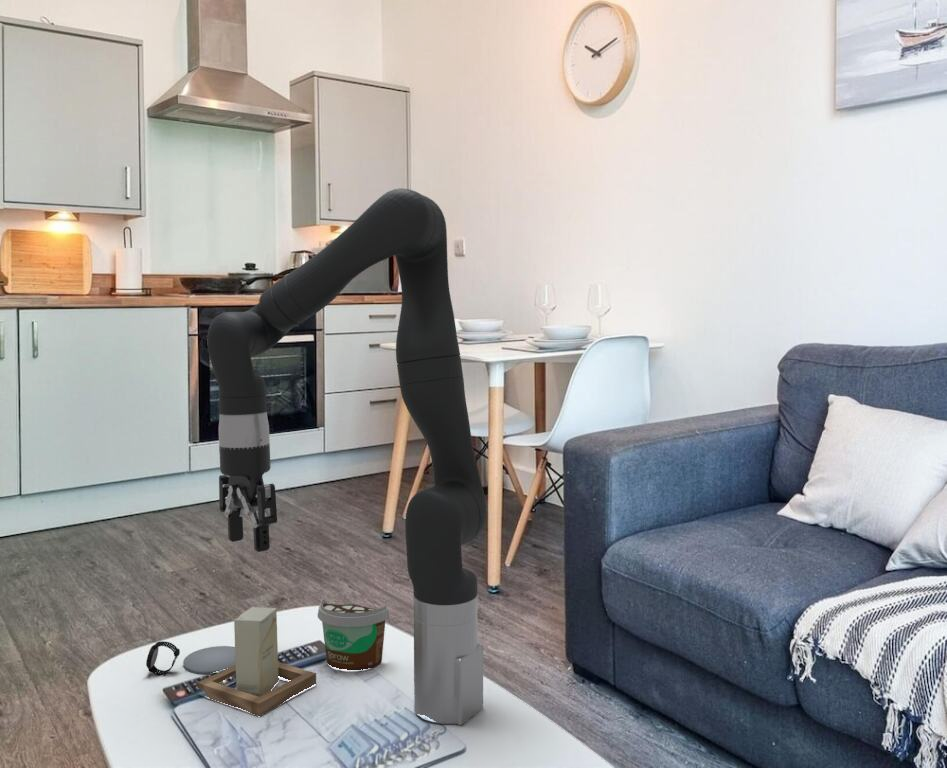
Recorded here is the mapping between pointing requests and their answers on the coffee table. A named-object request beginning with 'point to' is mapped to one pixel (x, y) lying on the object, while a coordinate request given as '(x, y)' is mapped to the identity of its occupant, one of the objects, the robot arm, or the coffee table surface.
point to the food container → (353, 635)
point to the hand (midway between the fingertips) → (248, 545)
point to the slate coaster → (210, 659)
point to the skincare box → (256, 650)
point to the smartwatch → (153, 656)
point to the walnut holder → (254, 703)
